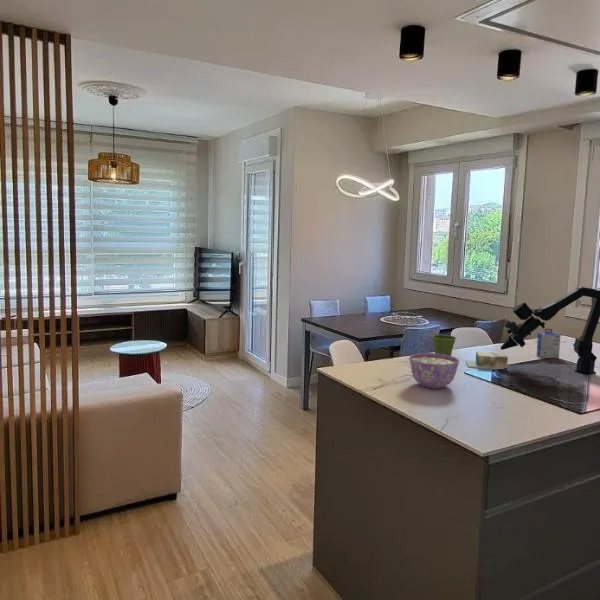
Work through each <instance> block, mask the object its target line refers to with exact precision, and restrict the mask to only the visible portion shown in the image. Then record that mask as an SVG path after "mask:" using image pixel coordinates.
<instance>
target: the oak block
mask: <svg viewBox="0 0 600 600" xmlns="http://www.w3.org/2000/svg"><path fill="white" fill-rule="evenodd" d="M475 354H476V355H475V361H476V363H477V365H478V366H485V367H500V368H504V369H508V362H509V361H508V360H509V359H508V356H507V354H506V353H505V352H492V351H491V352H488V351H477V350H476V352H475Z"/></svg>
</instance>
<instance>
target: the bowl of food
mask: <svg viewBox="0 0 600 600" xmlns="http://www.w3.org/2000/svg"><path fill="white" fill-rule="evenodd" d="M459 363H460V360H459V358H457V357H455V356H453V355H451V356H449V355H445V354H438V353H435V352H418V353H413V354H410V355H409V364H410V368H411V374H412V378H413V379H414V380H415V381H416V383H418V384H420V385H422V386H423V387H424V386H425V388H427V389H432V390H433V389H434V390H435V389H438V390H439V389H441V388H443V387H446V386H448V385H450V384H451V383H452V382H453V380H454V379H455V376H456V373H457V370H458V367H459Z"/></svg>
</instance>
